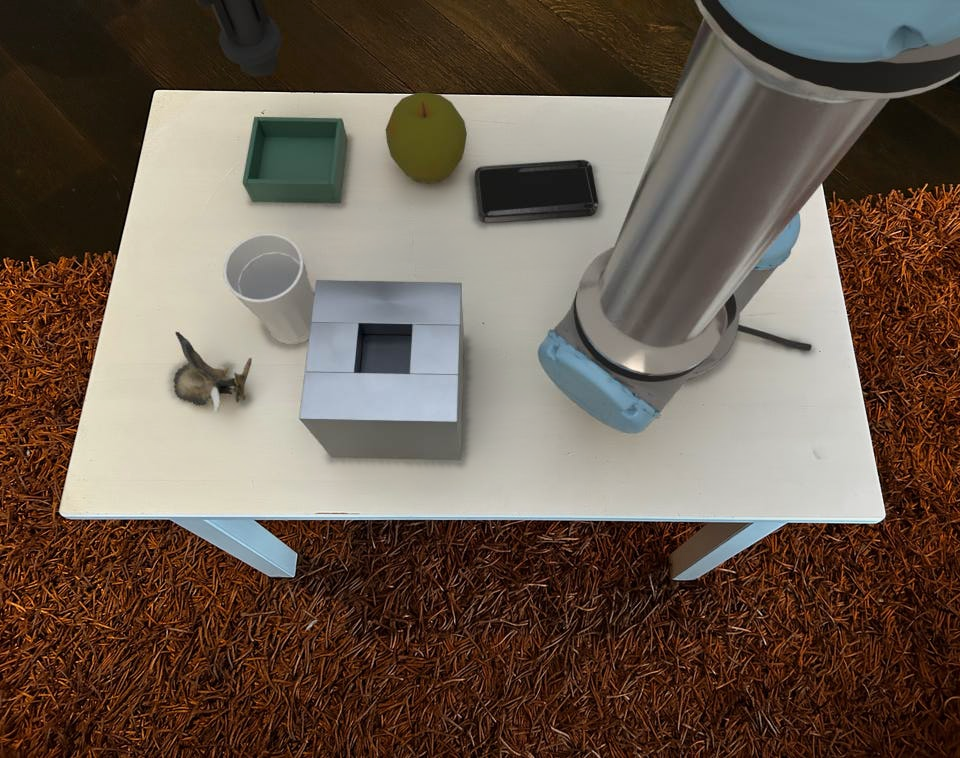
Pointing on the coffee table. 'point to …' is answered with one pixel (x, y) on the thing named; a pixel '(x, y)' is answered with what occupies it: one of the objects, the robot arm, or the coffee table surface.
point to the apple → (426, 137)
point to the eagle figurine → (205, 379)
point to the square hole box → (385, 369)
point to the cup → (272, 284)
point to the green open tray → (296, 160)
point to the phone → (535, 191)
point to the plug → (250, 39)
